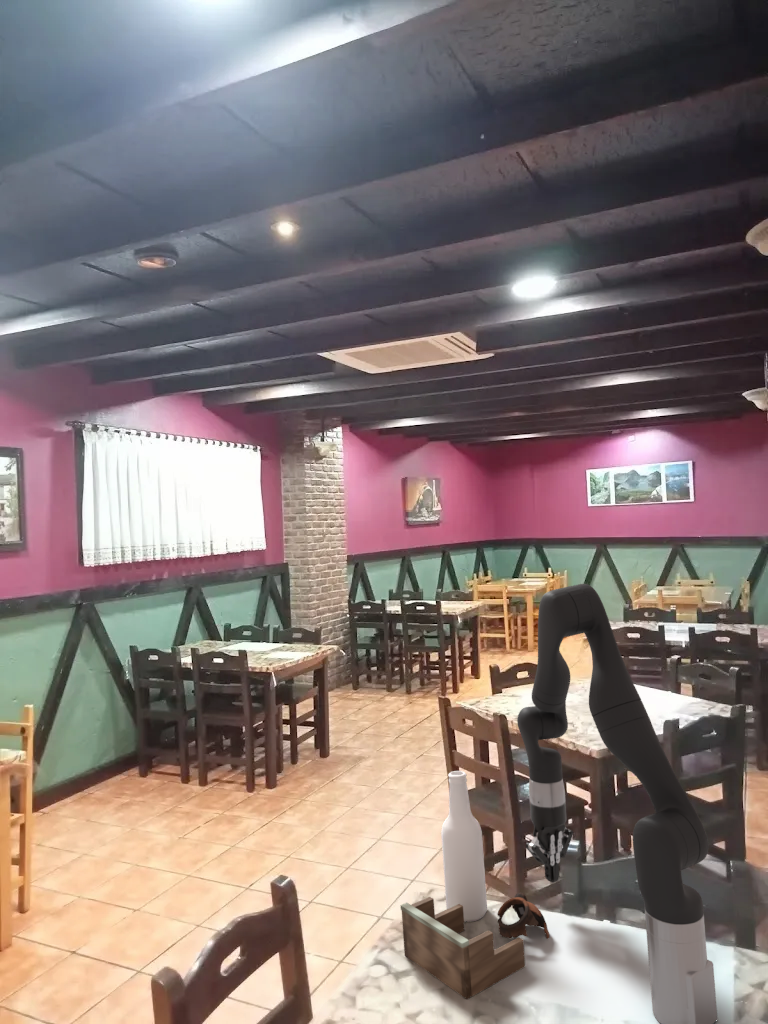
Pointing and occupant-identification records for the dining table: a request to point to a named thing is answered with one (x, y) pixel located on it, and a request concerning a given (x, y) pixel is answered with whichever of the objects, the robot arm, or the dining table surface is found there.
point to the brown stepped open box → (456, 949)
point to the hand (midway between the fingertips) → (552, 880)
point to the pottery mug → (521, 917)
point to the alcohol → (463, 853)
